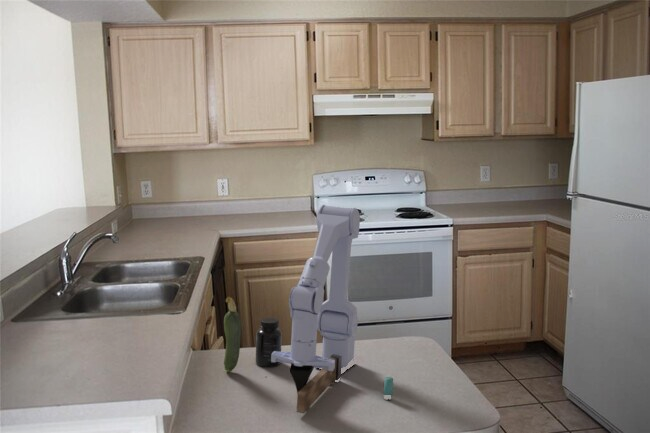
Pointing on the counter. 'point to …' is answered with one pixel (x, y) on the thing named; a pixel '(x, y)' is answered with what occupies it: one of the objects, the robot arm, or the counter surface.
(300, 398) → the wooden plank
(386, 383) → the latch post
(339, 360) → the hinge post
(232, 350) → the vegetable
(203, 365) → the counter surface
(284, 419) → the counter surface
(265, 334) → the supplement bottle
